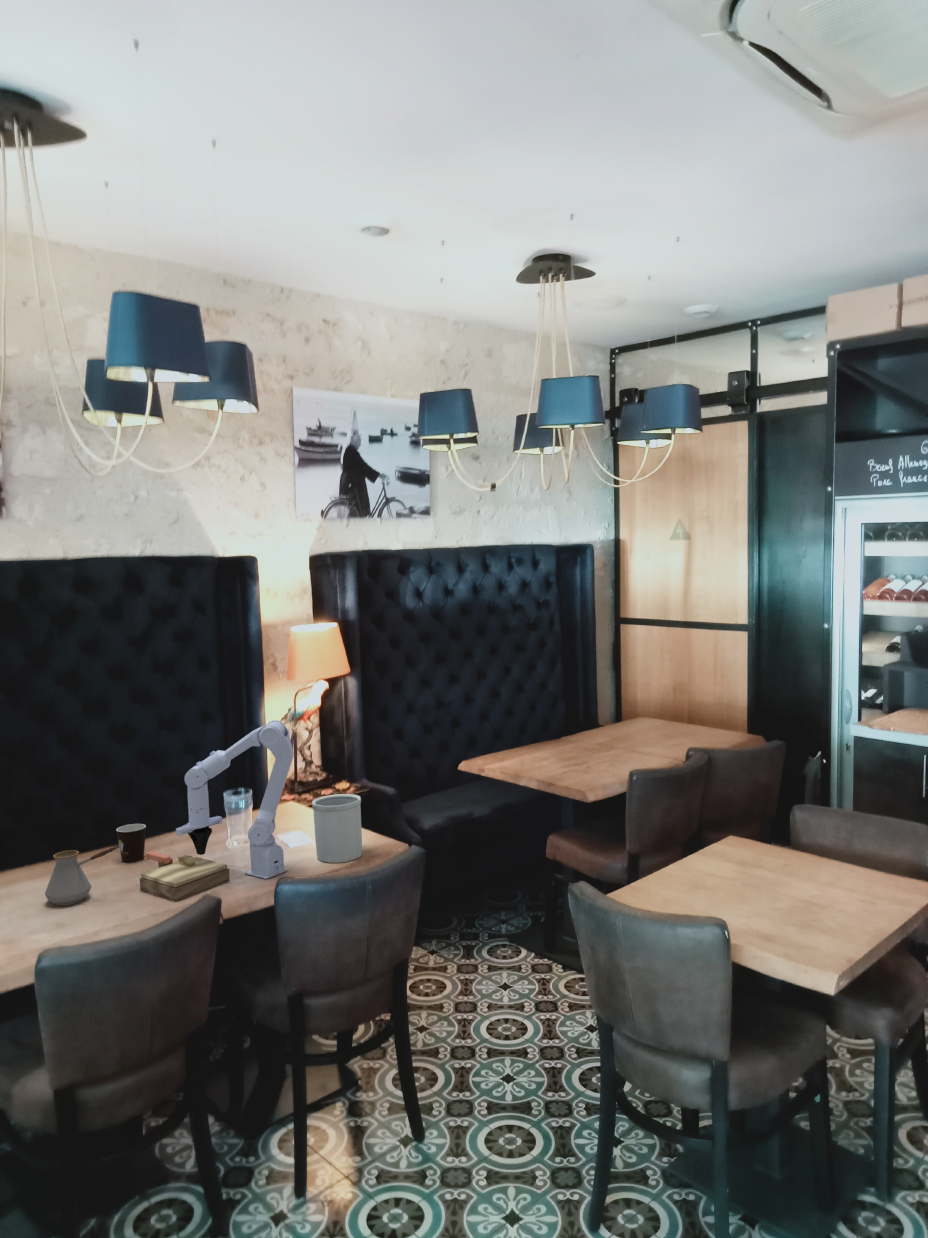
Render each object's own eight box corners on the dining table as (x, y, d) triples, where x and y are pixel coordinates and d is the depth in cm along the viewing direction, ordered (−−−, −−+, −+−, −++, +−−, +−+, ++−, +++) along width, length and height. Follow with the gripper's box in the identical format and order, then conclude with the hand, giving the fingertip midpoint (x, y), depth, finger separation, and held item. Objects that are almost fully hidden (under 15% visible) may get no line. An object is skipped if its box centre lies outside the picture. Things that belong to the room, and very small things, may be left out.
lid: (227, 868, 246) (226, 857, 246) (175, 887, 232) (174, 875, 232) (193, 859, 255) (192, 848, 255) (141, 877, 241) (140, 866, 241)
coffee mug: (148, 861, 267) (146, 829, 266) (118, 866, 264) (116, 833, 263) (147, 850, 278) (145, 820, 277) (118, 855, 275) (116, 823, 274)
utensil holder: (305, 856, 266) (302, 800, 265) (346, 845, 276) (343, 790, 275) (331, 867, 255) (329, 808, 254) (373, 855, 265) (370, 798, 264)
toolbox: (229, 881, 247) (228, 860, 246) (175, 901, 232) (174, 880, 232) (191, 870, 257) (190, 851, 257) (136, 889, 242) (135, 869, 242)
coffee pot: (36, 908, 231) (33, 853, 230) (60, 892, 243) (57, 839, 242) (112, 908, 229) (109, 852, 228) (133, 892, 240) (130, 839, 240)
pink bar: (171, 862, 249) (171, 856, 249) (164, 864, 247) (163, 858, 247) (152, 856, 254) (152, 851, 254) (145, 859, 252) (145, 853, 252)
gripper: (210, 800, 259) (212, 845, 260) (168, 811, 248) (171, 858, 248) (225, 803, 255) (227, 848, 256) (184, 815, 243) (186, 862, 244)
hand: (200, 853), depth 252 cm, fingers closed
